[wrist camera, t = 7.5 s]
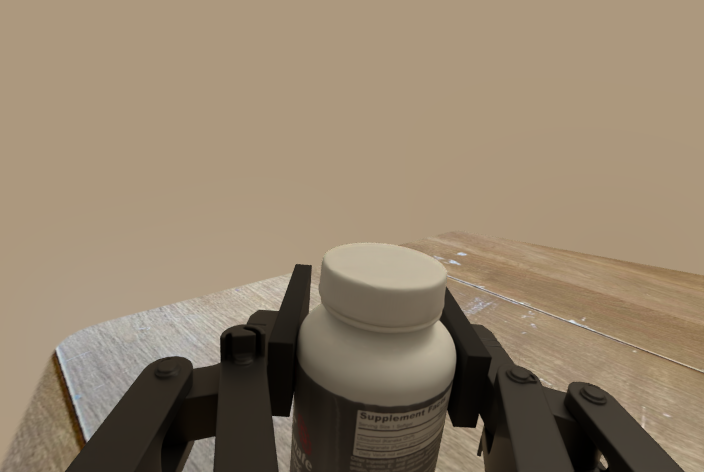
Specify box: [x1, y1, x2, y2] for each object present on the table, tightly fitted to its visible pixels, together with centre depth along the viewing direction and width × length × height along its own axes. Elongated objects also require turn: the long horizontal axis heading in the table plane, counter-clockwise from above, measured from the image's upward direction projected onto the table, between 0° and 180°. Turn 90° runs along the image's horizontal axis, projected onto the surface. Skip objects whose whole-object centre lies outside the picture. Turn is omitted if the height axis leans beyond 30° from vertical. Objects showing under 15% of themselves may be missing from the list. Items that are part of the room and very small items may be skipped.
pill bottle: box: [290, 243, 456, 472], centre depth 13 cm, size 5×5×10 cm
